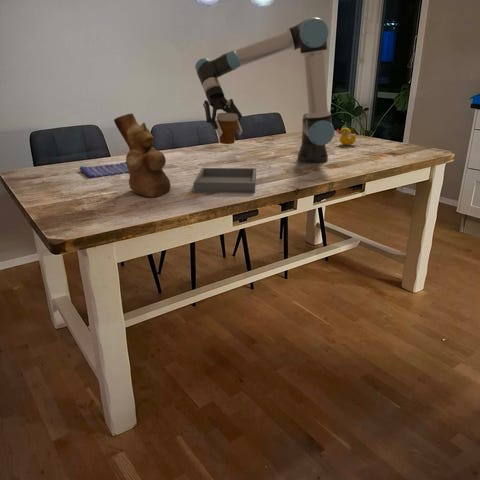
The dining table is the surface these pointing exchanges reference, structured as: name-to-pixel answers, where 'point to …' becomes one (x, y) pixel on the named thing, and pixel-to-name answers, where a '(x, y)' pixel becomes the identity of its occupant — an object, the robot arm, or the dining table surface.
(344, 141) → the duckling
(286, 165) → the dining table surface
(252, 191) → the grey tray
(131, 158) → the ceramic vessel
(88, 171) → the dish towel
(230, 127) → the disposable coffee cup
